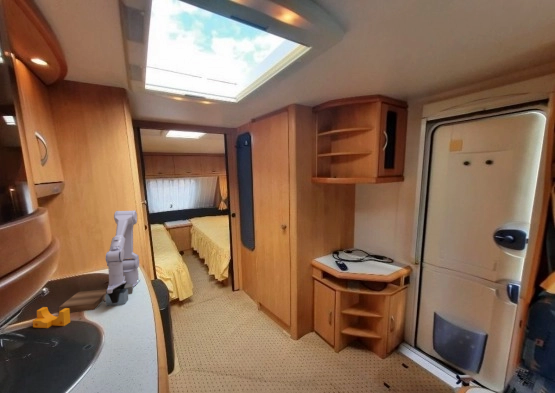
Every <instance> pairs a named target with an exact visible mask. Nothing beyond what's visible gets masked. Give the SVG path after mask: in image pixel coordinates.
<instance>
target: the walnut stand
mask: <svg viewBox="0 0 555 393" xmlns="http://www.w3.org/2000/svg"><path fill="white" fill-rule="evenodd" d="M107 289H108V288H105V289H98V290H96V289H95V290H85V291H78V292H76V293H75V294H74V295H73V296H71V297H70V298H69V299H67V300H66V301H65V302H64V303H62V304H61V305H59V306H58V312H59V311H61V310H63V309H65V308H69V309H70V313H75V312H84V311H95V310H96V309H97V308H98V307H99V306H100V304H102V302H104V297H105V295H106V294H107V293H106V291H107Z"/></svg>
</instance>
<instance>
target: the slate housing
mask: <svg viewBox="0 0 555 393" xmlns="http://www.w3.org/2000/svg"><path fill="white" fill-rule="evenodd" d="M128 301H129V294H128V289H121V290H120V292H119V296H118V302H117V303H112V301H111V299H110V297H109V295H108V294H106V295H105V297H104V300H103V302H104V303H105V307H115V306H124V305H126V304H127V302H128Z"/></svg>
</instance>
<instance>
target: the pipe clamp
mask: <svg viewBox="0 0 555 393" xmlns="http://www.w3.org/2000/svg"><path fill="white" fill-rule="evenodd" d="M50 312H51V311H49V309H48V307H47V306H42V307H41V308H39V309H37V310H36V318H35V319H32V320H31V321H32V328H38V329H39V328H40V329H49V328H50V327H52V326H55V327H56V326H59V327H65V326H67V325H68V324H69V323H71V312H70V309H69V308H65V309H63V310H61V311H59V310H58V316H55V315H53V314H52V313H50Z"/></svg>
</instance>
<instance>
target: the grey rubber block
mask: <svg viewBox="0 0 555 393" xmlns="http://www.w3.org/2000/svg"><path fill="white" fill-rule="evenodd" d="M133 288H134V287H133V284H128V285H125V287H124V289H128V295H132V294H133V292H134V289H133Z"/></svg>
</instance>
